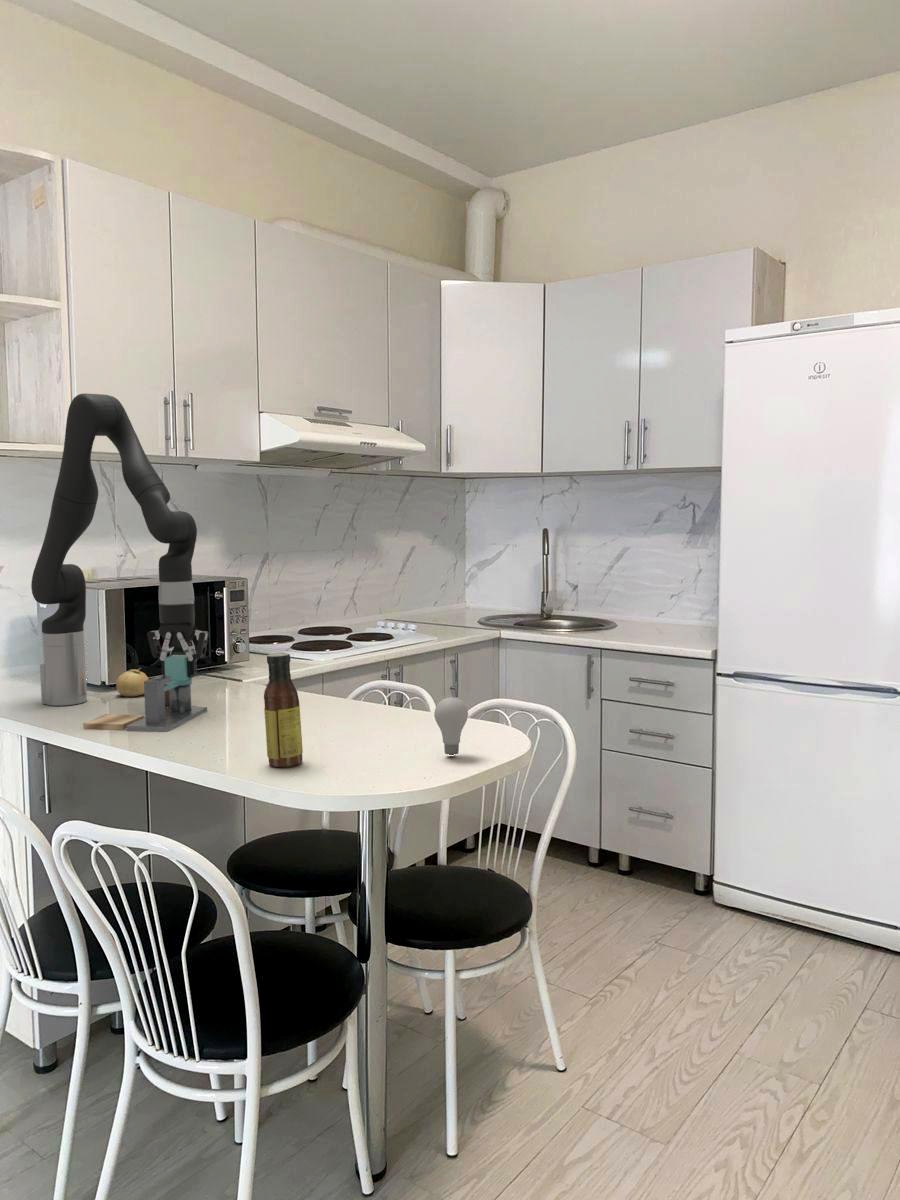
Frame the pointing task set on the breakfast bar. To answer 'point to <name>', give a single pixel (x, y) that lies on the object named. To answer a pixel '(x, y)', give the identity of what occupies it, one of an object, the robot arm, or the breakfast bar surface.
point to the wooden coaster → (112, 722)
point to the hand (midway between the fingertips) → (179, 676)
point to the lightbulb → (451, 722)
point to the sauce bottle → (282, 714)
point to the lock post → (156, 711)
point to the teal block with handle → (176, 671)
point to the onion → (131, 683)
